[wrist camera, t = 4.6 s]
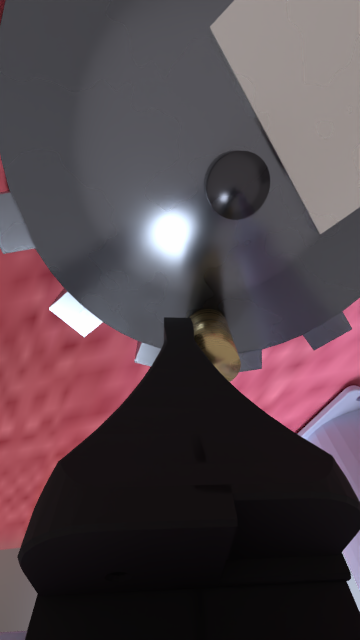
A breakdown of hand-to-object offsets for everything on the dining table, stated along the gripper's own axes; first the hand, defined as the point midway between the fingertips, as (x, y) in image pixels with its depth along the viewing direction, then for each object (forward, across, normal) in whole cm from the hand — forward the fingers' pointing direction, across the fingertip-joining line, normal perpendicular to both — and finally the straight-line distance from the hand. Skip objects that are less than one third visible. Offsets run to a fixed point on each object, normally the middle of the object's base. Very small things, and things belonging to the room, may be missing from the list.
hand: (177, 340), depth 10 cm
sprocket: (+3, -2, -5) cm, 6 cm away
